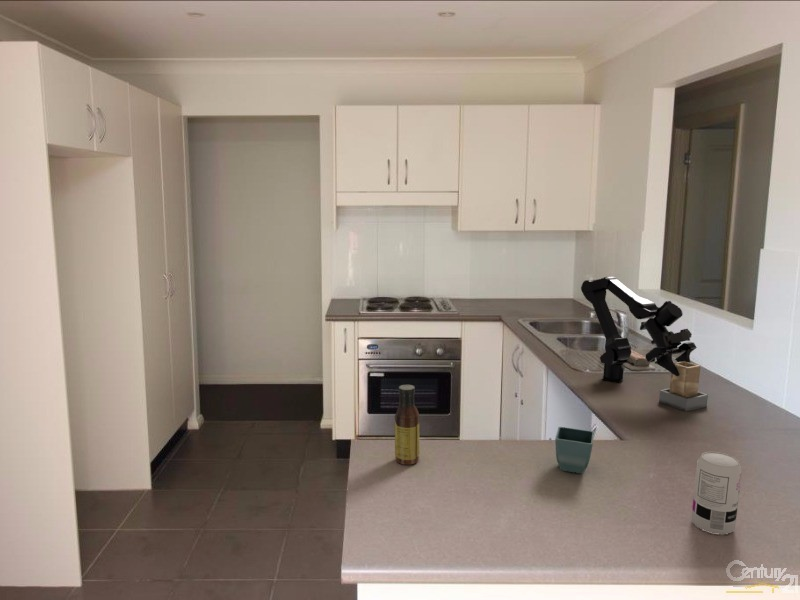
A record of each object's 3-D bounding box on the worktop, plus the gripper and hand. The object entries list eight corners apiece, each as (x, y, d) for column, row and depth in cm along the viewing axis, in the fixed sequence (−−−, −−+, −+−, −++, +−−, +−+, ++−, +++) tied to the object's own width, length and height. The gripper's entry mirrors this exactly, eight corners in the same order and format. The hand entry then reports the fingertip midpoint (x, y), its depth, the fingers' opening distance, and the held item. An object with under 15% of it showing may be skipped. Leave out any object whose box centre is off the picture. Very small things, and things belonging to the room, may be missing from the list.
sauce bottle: (407, 453, 165) (408, 380, 162) (424, 461, 161) (426, 386, 157) (388, 461, 161) (389, 386, 157) (406, 468, 156) (407, 392, 153)
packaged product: (610, 347, 261) (633, 347, 262) (609, 358, 261) (632, 358, 263) (632, 359, 243) (656, 358, 245) (631, 371, 244) (655, 370, 245)
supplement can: (683, 516, 135) (690, 450, 133) (720, 515, 136) (727, 450, 133) (704, 537, 127) (712, 468, 125) (743, 536, 128) (751, 467, 125)
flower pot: (591, 464, 160) (594, 430, 159) (590, 479, 152) (592, 444, 151) (556, 458, 163) (558, 426, 162) (553, 473, 155) (555, 438, 153)
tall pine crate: (669, 392, 207) (672, 363, 205) (681, 390, 210) (684, 361, 208) (685, 398, 202) (688, 368, 200) (697, 395, 204) (700, 365, 203)
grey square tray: (658, 401, 208) (660, 390, 207) (679, 397, 213) (680, 385, 212) (685, 411, 199) (687, 399, 199) (706, 406, 204) (708, 394, 203)
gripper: (656, 323, 202) (682, 365, 194) (694, 318, 210) (721, 358, 203) (634, 341, 210) (658, 382, 202) (672, 336, 219) (697, 375, 211)
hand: (684, 374), depth 204 cm, fingers closed on tall pine crate, 6 cm apart
